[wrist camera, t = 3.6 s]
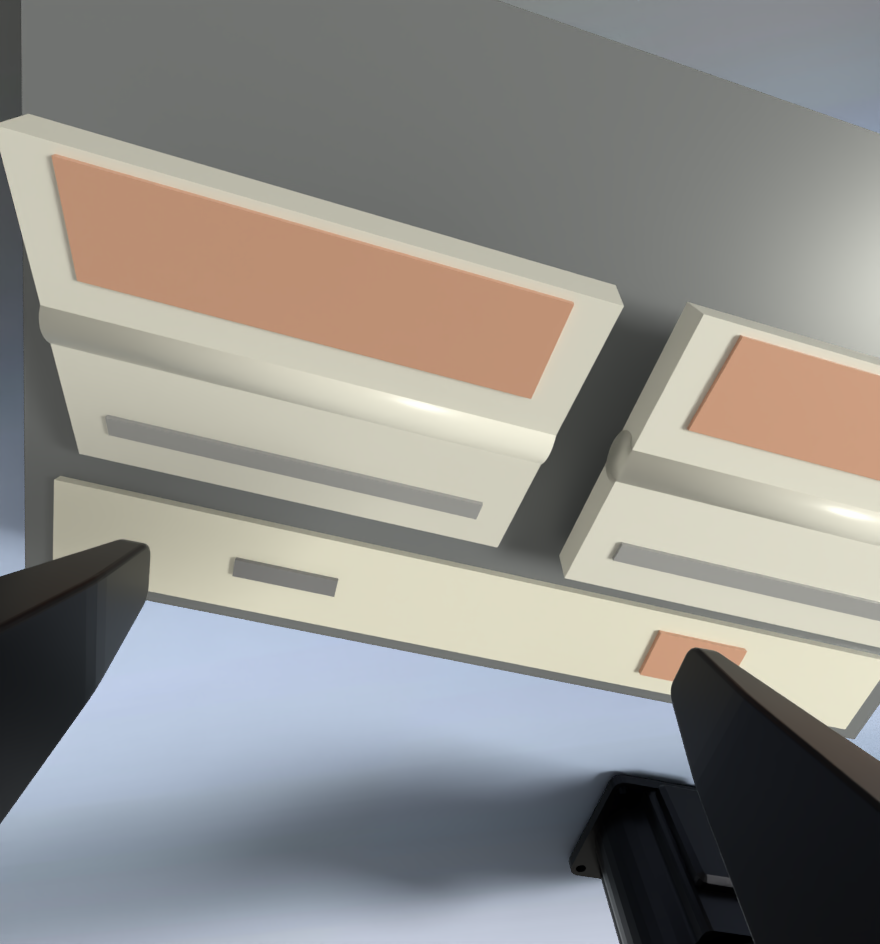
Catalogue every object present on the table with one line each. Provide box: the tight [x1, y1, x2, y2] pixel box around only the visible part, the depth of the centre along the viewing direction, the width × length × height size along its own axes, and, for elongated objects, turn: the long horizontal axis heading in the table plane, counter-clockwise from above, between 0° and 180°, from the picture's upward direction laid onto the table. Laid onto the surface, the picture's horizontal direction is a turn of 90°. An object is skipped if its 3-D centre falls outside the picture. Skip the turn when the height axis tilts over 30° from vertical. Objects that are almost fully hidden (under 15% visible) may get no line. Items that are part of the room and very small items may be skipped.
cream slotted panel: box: [559, 302, 880, 648], centre depth 15 cm, size 8×12×1 cm, turn 75°
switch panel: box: [21, 0, 880, 739], centre depth 17 cm, size 18×30×4 cm, turn 75°
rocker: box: [0, 114, 624, 547], centre depth 13 cm, size 8×12×1 cm, turn 75°
